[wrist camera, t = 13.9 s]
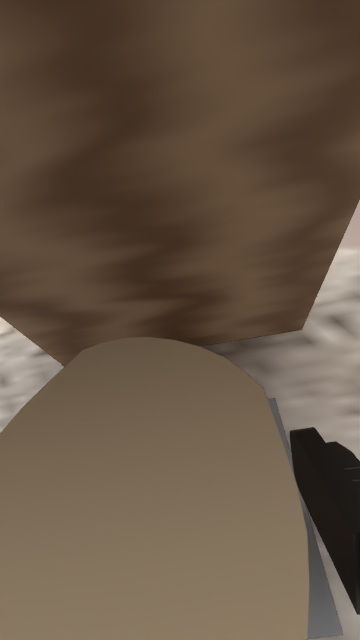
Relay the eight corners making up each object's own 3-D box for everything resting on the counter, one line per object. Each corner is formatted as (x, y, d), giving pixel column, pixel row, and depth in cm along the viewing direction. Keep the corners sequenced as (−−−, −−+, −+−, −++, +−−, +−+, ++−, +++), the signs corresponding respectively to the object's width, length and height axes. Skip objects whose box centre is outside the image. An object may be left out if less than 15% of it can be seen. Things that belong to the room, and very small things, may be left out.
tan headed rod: (143, 564, 15) (-247, 877, 3) (176, 440, 18) (60, 319, 6) (234, 601, 14) (270, 1476, 2) (253, 461, 17) (318, 366, 5)
